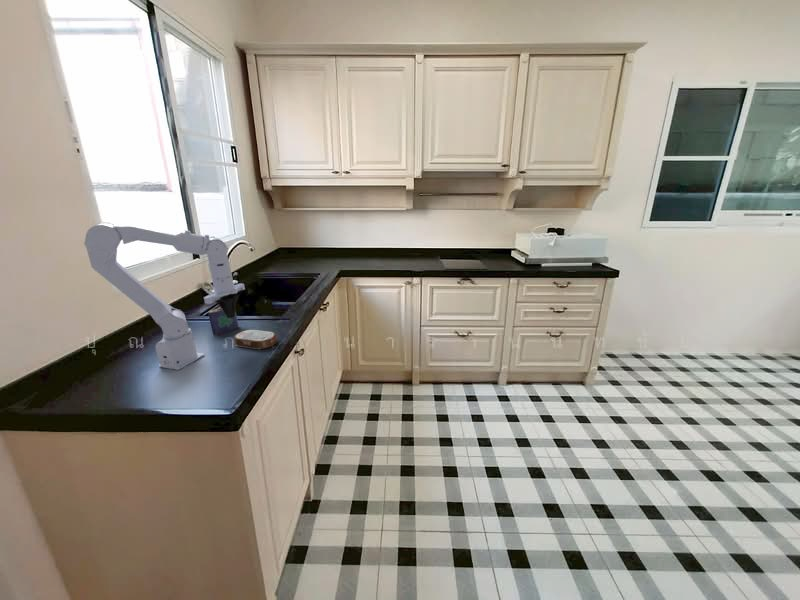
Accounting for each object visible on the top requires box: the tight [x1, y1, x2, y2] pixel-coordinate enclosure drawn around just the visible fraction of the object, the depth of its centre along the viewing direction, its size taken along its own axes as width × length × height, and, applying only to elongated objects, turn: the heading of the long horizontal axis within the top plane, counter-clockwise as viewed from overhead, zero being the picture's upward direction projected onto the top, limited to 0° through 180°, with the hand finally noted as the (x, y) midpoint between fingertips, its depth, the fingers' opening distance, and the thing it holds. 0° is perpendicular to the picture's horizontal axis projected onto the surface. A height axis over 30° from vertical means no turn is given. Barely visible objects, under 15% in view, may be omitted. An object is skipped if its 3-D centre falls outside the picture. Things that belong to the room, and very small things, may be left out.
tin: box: [233, 329, 278, 350], centre depth 114 cm, size 15×3×8 cm
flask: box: [207, 306, 240, 336], centre depth 123 cm, size 9×3×11 cm, turn 138°
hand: (231, 317), depth 109 cm, fingers closed
